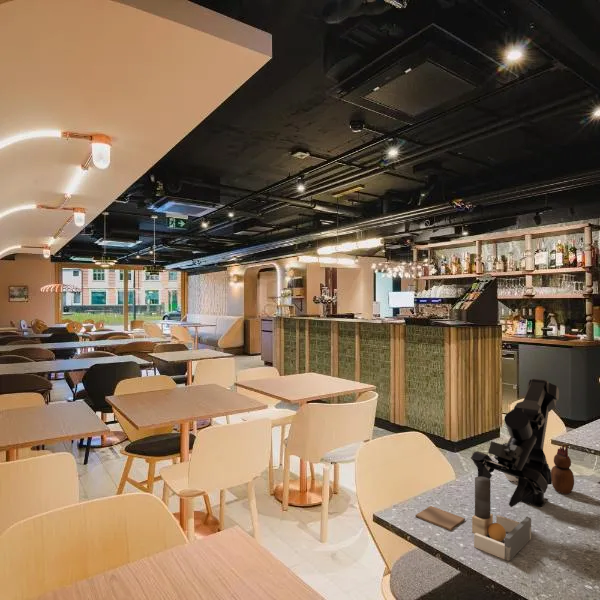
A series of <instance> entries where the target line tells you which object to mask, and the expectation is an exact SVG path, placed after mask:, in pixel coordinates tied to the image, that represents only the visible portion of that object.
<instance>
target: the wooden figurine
mask: <svg viewBox="0 0 600 600" xmlns="http://www.w3.org/2000/svg"><path fill="white" fill-rule="evenodd" d="M568 447H569V445H568V444H566V445H564V444H562V447H561V446H559V448H557V450H556V451H557V452H556V454H555V455H554V456H553V464H554V466H552V468H551V469H550V470H551V476H552V484H551V485H552V487H553V489H554V490H555V491H556V492H558V493H560V494H566V495H567V494H569V495H570V493H572V491H573V489H574V486H575V476H574V472H573V470H572V469H571V467H572V466H571V465H572V460H571V458H570V456H569V449H568Z"/></svg>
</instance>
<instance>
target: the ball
mask: <svg viewBox="0 0 600 600" xmlns="http://www.w3.org/2000/svg"><path fill="white" fill-rule="evenodd" d="M488 536H489V538H491V539H493V540H496V541H499V542H503V540H504V541H505V536H507V532H506V531H505V529H504V527H503V526H502V525H500V524H498V523H496V522H494V523H492V524H491V525H490V526H489V528H488Z"/></svg>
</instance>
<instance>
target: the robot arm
mask: <svg viewBox="0 0 600 600" xmlns="http://www.w3.org/2000/svg"><path fill="white" fill-rule="evenodd" d="M559 398H560V389H559V388H558V386H557V385H556V384H553V383H550V382H549V380H546V379H540V378H531V379H529V382H527V389H526V393H525V395H524V398H523V401H519V402H517V403H516V404H515V405H514V407H513V409H511V411H509V412H507V413H506V415H505V416H504V423H505V426H506V429H507V431H508V432H507V433H508V434H509V436H510V438H509V439H508V442H507V443H506V442H503V443H502V444H501V443H498V442H495V441H490V444H489V446H488V451H487V454H486V453H484V452H481V451H473V453H472V455H471V457H470V459H471V461H472V462H473V464H474V465H475V466H476V468H477V477H486V478H488V479H490V480H491V478H492V476H493V475H492V473H493V472H494V471H498V472H501V473H503V474H504V473H506V474H509V475H511V476H514V477H516V478H517V479H518V481H517V486H516V487H515V490H514V491H513V494H512V496H511V497H510V500H509V503H508V506H509V507H510V508H514V506H516V505H518V504H519V503H521V502H522V503H525V504H529V505H532V506H535V507H539V508H542V507H543V506H545V505H546V504H547V503H548V501H549V498H547V497H545V494H546V492H547V489H548V485H552V476H551V470H552V469H550V466H549V463H548V460H547V458H546V454H545V451H544V445H545V440H546V439H545V437H546V432H547V431H546V430H547V425H548V418H549V413H550V412H551V411H552V410H553V409H554V408H555V407H556V406H557V401H559V400H560V399H559ZM489 454H490V455H493V458H494V459H495V461H494V460H492V458H491V457H490V455H489Z"/></svg>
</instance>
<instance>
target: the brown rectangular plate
mask: <svg viewBox="0 0 600 600" xmlns="http://www.w3.org/2000/svg"><path fill="white" fill-rule="evenodd" d="M415 518H417V519H420V520H422V521H424V522H427V523H430V524H433V525H435V526H437V527H440V528H443V529H445V530H447V531H452V530H453V529H455V528H456V527H458V526H459V525H460V524H462V523H463V522H464V521H465V520H466V519H465V517H462V516H459V515H456V514H455V513H451V512H449V511H446V510H443V509H440V508H437V507H435V506H433V505H429V506H428V507H426V508H424V509H423V510H421V511H420V512H418V513H416V514H415Z"/></svg>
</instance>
